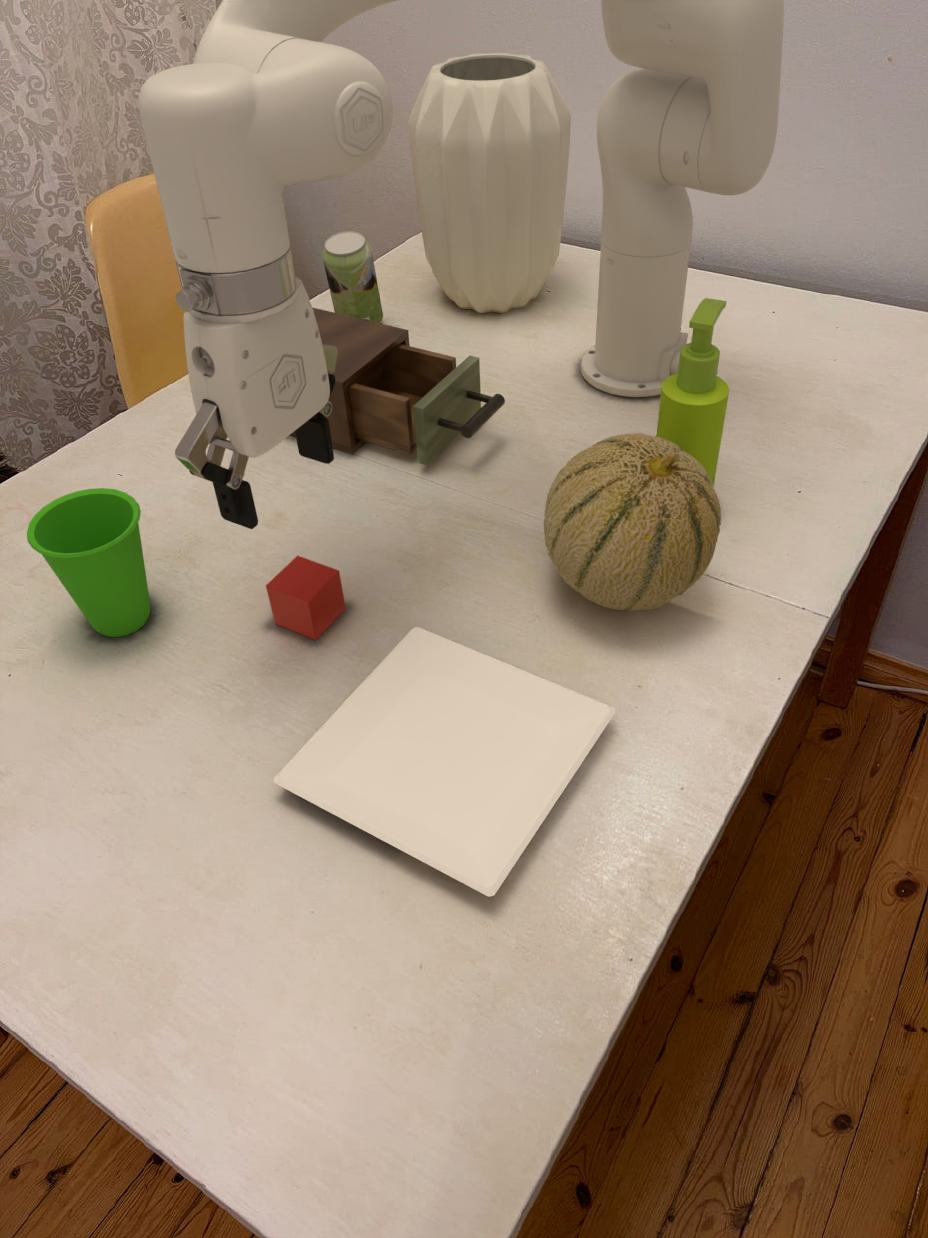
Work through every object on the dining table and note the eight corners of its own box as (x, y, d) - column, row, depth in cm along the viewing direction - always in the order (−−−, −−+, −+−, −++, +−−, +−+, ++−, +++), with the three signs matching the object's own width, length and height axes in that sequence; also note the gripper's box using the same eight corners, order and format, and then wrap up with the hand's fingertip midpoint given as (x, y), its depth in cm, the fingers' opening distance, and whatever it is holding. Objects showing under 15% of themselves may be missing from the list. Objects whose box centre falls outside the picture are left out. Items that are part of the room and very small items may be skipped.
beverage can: (387, 315, 127) (377, 223, 119) (378, 342, 122) (367, 248, 113) (340, 315, 128) (327, 224, 119) (329, 342, 122) (315, 248, 114)
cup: (192, 594, 88) (160, 496, 80) (137, 663, 82) (97, 564, 74) (108, 576, 90) (70, 480, 83) (49, 642, 84) (2, 544, 77)
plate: (492, 913, 64) (491, 896, 62) (275, 796, 71) (270, 779, 70) (615, 724, 75) (617, 706, 73) (416, 640, 82) (414, 623, 81)
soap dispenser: (719, 490, 96) (751, 298, 82) (700, 530, 92) (731, 334, 78) (661, 478, 98) (683, 288, 84) (641, 516, 94) (661, 323, 80)
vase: (518, 341, 120) (517, 99, 102) (392, 307, 129) (369, 79, 110) (591, 280, 132) (602, 54, 113) (471, 253, 140) (463, 38, 121)
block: (346, 608, 86) (339, 570, 83) (316, 640, 83) (308, 601, 80) (305, 593, 88) (297, 555, 84) (274, 623, 85) (265, 585, 82)
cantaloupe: (554, 529, 93) (557, 390, 82) (710, 543, 90) (734, 402, 80) (530, 635, 82) (530, 492, 72) (706, 655, 80) (732, 509, 69)
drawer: (515, 422, 105) (514, 365, 100) (463, 476, 98) (459, 418, 93) (387, 388, 112) (381, 333, 107) (329, 437, 105) (320, 380, 100)
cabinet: (414, 399, 111) (408, 329, 105) (352, 454, 104) (342, 382, 98) (319, 373, 117) (308, 306, 111) (253, 424, 109) (237, 354, 103)
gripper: (193, 344, 58) (246, 565, 69) (358, 241, 68) (380, 447, 80) (102, 319, 61) (168, 535, 72) (274, 224, 71) (307, 425, 83)
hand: (280, 489), depth 76 cm, fingers open, 9 cm apart
